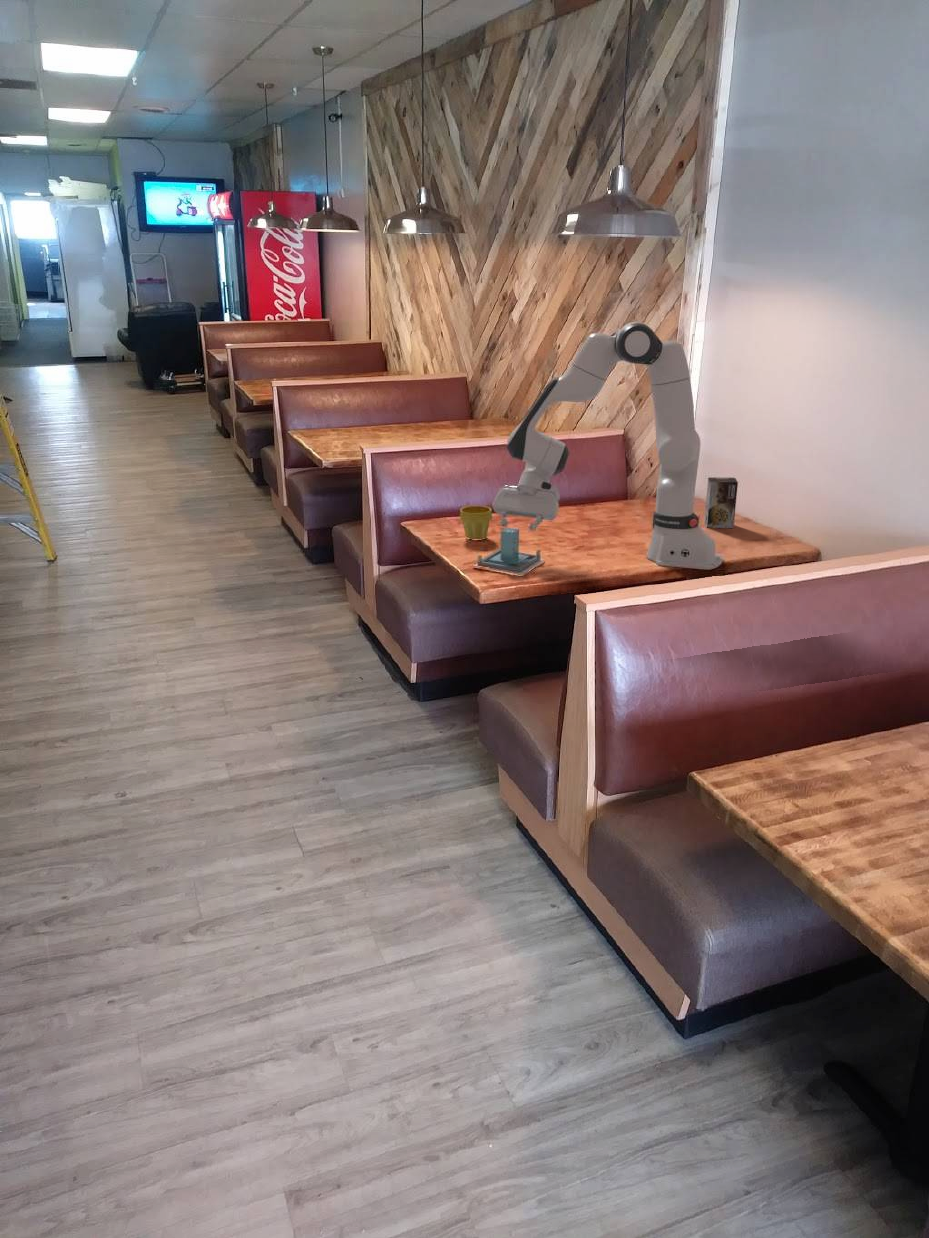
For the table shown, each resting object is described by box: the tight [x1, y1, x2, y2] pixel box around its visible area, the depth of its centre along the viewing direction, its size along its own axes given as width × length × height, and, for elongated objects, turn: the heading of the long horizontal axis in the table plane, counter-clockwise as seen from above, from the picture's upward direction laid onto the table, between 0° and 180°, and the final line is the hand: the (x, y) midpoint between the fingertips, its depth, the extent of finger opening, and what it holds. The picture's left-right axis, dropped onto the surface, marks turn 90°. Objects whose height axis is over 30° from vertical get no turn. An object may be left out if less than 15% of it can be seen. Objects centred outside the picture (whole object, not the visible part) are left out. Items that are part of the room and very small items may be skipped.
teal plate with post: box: [489, 527, 530, 567], centre depth 268 cm, size 9×9×10 cm
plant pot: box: [459, 505, 493, 539], centre depth 295 cm, size 10×10×10 cm
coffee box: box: [703, 477, 739, 529], centre depth 306 cm, size 9×6×16 cm
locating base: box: [473, 548, 546, 576], centre depth 270 cm, size 16×16×4 cm
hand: (517, 527), depth 271 cm, fingers open, 8 cm apart
